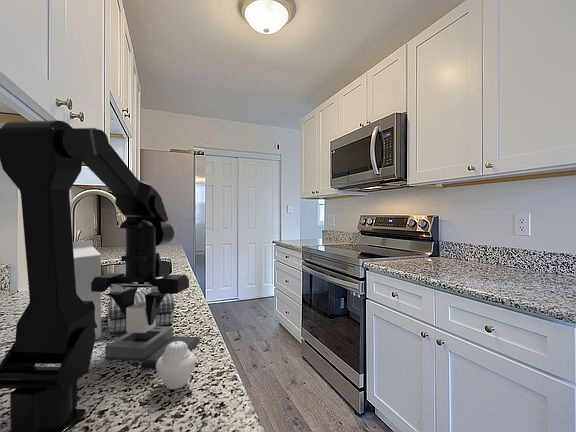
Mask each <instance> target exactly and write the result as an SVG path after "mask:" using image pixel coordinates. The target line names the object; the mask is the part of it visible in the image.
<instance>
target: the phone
mask: <svg viewBox="0 0 576 432" xmlns="http://www.w3.org/2000/svg"><path fill="white" fill-rule="evenodd" d="M176 341H182V342H185V343H186V344H187V346H188V349H189V350H190V352H192V350H194V348H196V346H198V344H199V343H200V341H201V337H200V336H180V335H179V336H178V335H173V337H172V338H171V339H169V340H168V341H167V342H166V343H164V344H163V345H162V346H161V347H159V348H158V349H157V350H156V351H154V352H153V353H152V354H151V355H149V356H148V357H147V358H146V359H144V360H143V361H140V368H142V369H153V370H156V363H157V361H158V360H159V358H160V357H161V356H162V355H163V354H164V353H165V348H166V347H167V345H168V344H170V343H173V342H176Z"/></svg>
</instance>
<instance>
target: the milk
mask: <svg viewBox="0 0 576 432" xmlns="http://www.w3.org/2000/svg"><path fill="white" fill-rule="evenodd" d="M73 254H74V268H75V282H76V293H77V295H78V296H79V297H80V299H81V300H82V301H93V303H94V305H95V322H96V324H97V328H94V329H95V340H98V339H100V338H102V292H91V282H92V281H93V279H94V278H95V277H98V276H102V262H101V261H102V260H101V258H102V257H101V256H102V255H101V253H100V251H98V250H97V249H96V248H95V247H94V242H93V240H91V239H88V240H77V241H73Z"/></svg>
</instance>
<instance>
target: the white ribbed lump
mask: <svg viewBox="0 0 576 432" xmlns="http://www.w3.org/2000/svg"><path fill="white" fill-rule="evenodd" d="M196 362H197V357H196V356H195V354H194V353H193V352H192V351H190V350H189V349H188V346H187V344H186V343H185V342H182V341H176V342H173V343H170V344H168V345H167V347H166V348H165V353H164V354H163V355H162V356H161V357H160V358H159V360H158V361H157V363H156V369H155V370H156V371H157V373H158V376H159V378H160V380H161V381H162V383H163V384H164V386H165V387H166V389H168V388H169V390H179V389H181V388H183V387H185V386H186V385H187V384H188V382H189V380H190V378H191V376H192V374H193V372H194V369H195V366H196ZM178 388H179V389H178Z"/></svg>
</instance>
